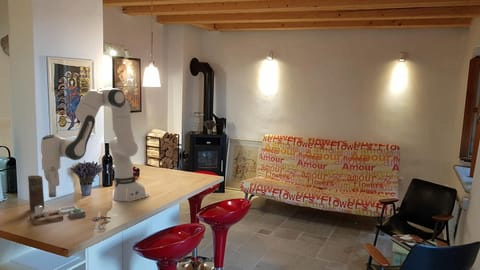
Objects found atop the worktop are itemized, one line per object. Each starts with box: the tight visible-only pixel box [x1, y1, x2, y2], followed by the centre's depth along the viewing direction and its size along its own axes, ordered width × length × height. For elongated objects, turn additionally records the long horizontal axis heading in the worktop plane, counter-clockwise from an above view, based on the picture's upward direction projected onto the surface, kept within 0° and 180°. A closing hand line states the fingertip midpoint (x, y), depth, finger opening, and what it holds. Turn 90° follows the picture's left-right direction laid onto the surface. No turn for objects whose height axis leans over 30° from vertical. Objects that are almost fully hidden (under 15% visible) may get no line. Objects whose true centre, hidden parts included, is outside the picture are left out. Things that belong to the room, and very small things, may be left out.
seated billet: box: [34, 205, 44, 219], centre depth 194 cm, size 4×4×8 cm
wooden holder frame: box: [29, 209, 64, 226], centre depth 197 cm, size 14×12×2 cm
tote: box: [57, 205, 78, 215], centre depth 210 cm, size 9×8×2 cm
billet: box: [47, 181, 57, 198], centre depth 197 cm, size 4×4×8 cm
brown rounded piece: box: [27, 175, 45, 212], centre depth 211 cm, size 8×7×20 cm
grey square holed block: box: [68, 207, 86, 219], centre depth 203 cm, size 7×7×3 cm
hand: (52, 190), depth 197 cm, fingers closed on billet, 4 cm apart
